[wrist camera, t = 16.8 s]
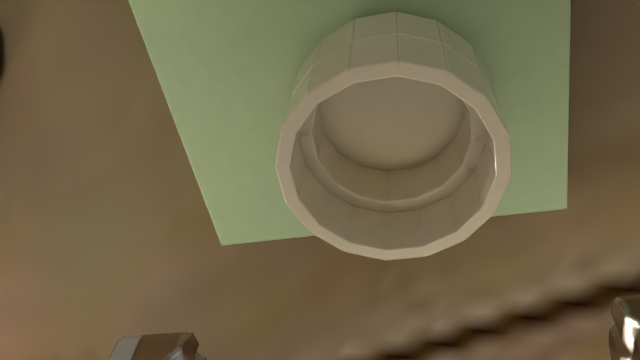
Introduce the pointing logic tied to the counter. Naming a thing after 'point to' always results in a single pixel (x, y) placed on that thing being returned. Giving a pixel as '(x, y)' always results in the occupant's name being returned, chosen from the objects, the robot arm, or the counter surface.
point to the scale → (289, 56)
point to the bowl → (393, 139)
